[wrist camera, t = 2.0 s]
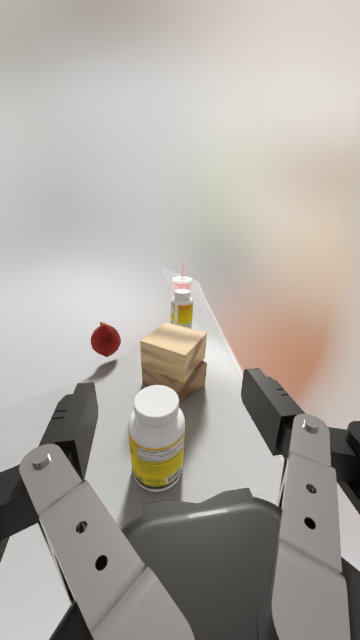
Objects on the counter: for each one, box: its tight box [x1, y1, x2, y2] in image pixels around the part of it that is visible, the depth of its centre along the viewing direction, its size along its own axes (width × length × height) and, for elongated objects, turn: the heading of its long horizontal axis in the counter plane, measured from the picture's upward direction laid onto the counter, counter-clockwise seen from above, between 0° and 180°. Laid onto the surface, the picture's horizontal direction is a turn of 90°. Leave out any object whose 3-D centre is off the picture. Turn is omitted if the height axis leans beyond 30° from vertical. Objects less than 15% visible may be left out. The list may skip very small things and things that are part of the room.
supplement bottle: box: [171, 289, 193, 328], centre depth 62 cm, size 6×6×10 cm
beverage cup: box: [173, 262, 192, 291], centre depth 76 cm, size 6×6×14 cm
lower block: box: [142, 361, 207, 403], centre depth 43 cm, size 8×8×5 cm
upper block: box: [140, 322, 207, 383], centre depth 41 cm, size 8×8×5 cm
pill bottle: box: [128, 385, 185, 492], centre depth 27 cm, size 6×6×11 cm
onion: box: [91, 322, 121, 357], centre depth 50 cm, size 6×6×8 cm
